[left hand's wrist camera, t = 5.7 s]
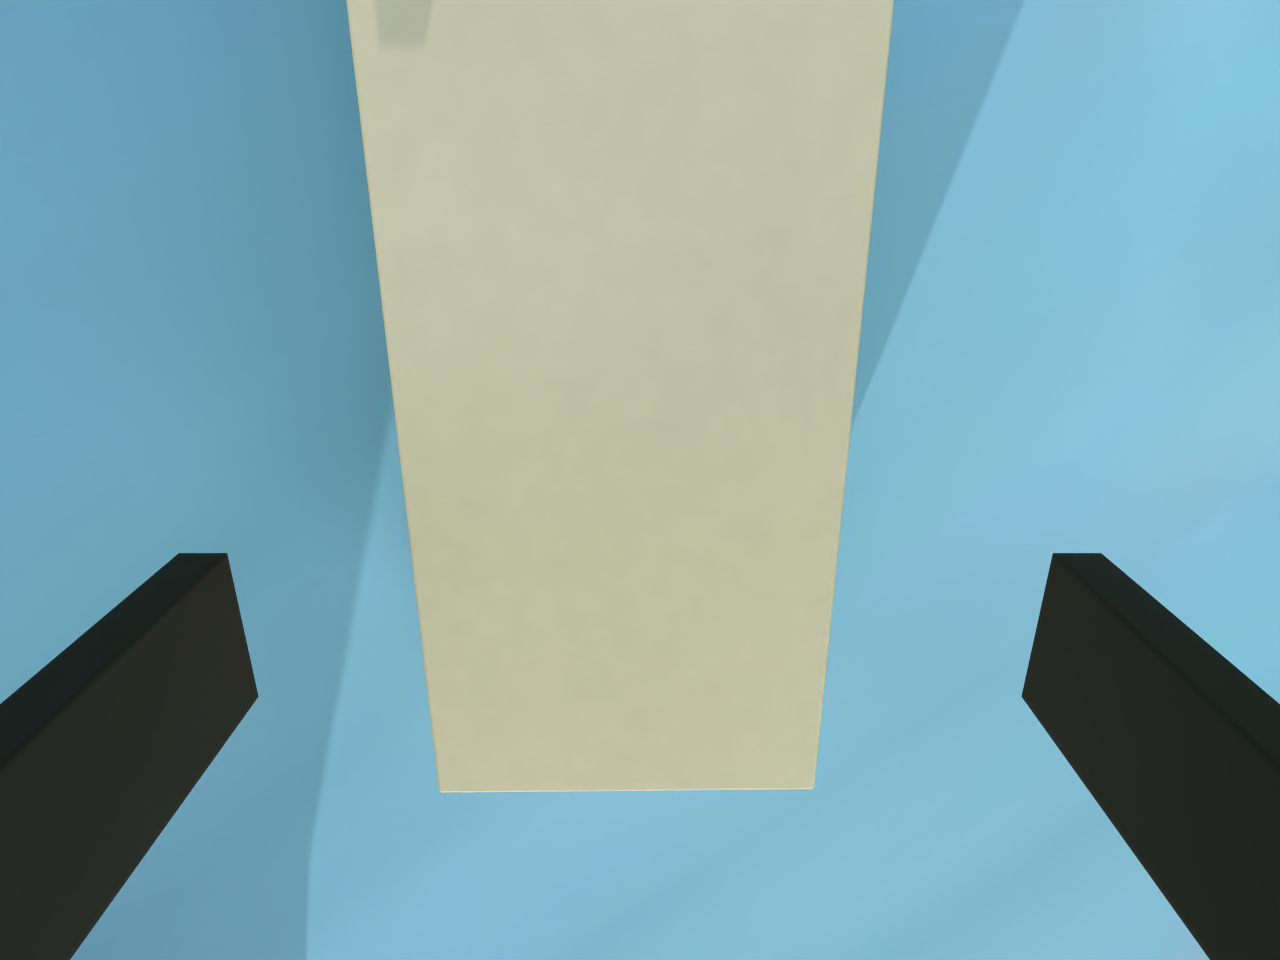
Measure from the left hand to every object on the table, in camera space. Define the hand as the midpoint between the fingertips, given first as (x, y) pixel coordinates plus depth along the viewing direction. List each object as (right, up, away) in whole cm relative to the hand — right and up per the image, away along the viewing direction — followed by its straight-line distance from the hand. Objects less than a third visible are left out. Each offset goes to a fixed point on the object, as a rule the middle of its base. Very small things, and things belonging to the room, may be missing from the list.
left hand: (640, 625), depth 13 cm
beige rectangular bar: (0, +31, -1) cm, 31 cm away
